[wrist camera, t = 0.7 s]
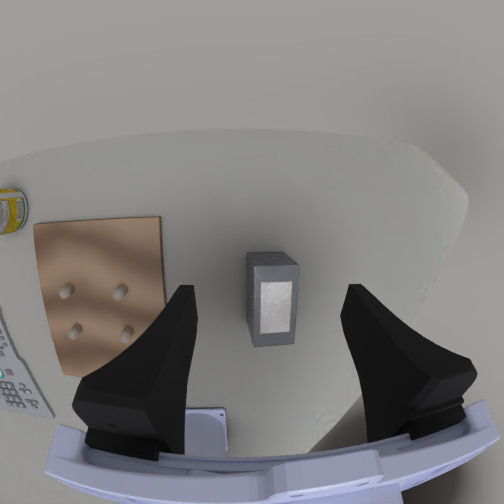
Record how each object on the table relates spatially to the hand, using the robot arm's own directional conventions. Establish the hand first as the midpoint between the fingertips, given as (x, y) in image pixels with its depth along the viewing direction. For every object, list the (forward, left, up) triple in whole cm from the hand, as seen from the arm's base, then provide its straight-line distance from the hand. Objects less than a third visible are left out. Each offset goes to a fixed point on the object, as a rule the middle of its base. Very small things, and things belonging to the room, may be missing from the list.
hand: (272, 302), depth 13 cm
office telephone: (-19, +43, -19) cm, 51 cm away
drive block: (-5, -3, -18) cm, 19 cm away
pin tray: (-7, +16, -18) cm, 25 cm away
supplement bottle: (+5, +28, -18) cm, 34 cm away
